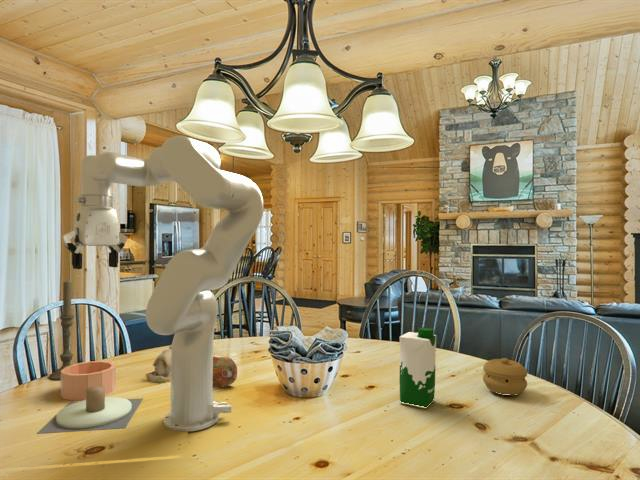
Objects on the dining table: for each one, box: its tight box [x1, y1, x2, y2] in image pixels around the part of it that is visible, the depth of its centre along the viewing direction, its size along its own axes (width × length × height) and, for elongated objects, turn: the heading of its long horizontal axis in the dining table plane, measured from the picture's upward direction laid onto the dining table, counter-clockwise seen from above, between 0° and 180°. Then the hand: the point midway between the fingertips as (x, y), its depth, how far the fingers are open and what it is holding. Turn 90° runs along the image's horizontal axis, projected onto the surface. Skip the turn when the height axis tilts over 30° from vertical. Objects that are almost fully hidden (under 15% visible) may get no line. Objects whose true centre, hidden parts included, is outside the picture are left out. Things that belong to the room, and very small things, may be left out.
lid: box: [56, 386, 132, 429], centre depth 103 cm, size 16×16×6 cm
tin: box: [213, 354, 238, 388], centre depth 127 cm, size 15×3×8 cm, turn 62°
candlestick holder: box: [48, 279, 75, 381], centre depth 133 cm, size 9×9×30 cm
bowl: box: [60, 360, 117, 401], centre depth 118 cm, size 13×13×7 cm
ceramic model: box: [146, 344, 172, 384], centre depth 133 cm, size 14×11×10 cm
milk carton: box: [399, 326, 437, 407], centre depth 115 cm, size 9×9×20 cm
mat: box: [36, 397, 144, 435], centre depth 103 cm, size 18×18×1 cm
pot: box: [482, 357, 528, 395], centre depth 123 cm, size 12×12×10 cm
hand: (95, 267), depth 113 cm, fingers open, 9 cm apart
